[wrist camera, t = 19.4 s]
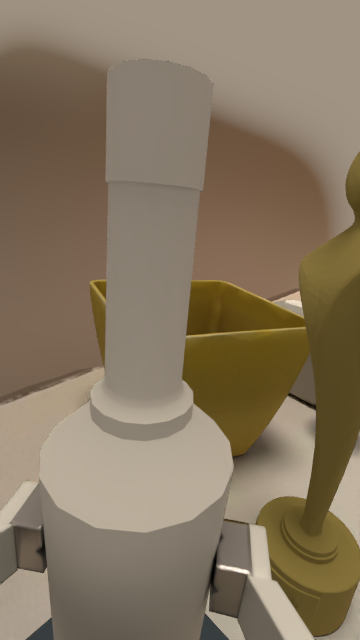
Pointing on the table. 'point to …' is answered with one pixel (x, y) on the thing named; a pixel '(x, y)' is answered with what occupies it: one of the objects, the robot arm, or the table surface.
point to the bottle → (141, 391)
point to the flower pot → (233, 355)
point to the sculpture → (325, 437)
